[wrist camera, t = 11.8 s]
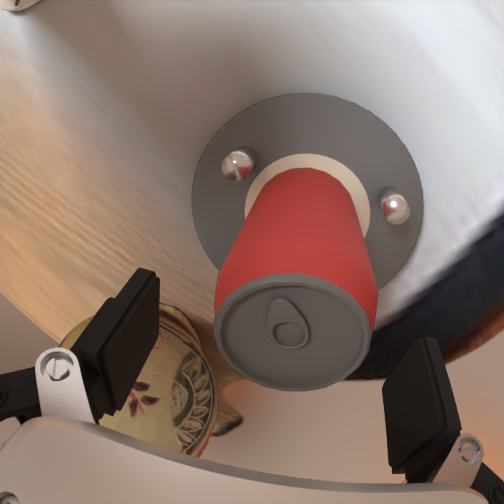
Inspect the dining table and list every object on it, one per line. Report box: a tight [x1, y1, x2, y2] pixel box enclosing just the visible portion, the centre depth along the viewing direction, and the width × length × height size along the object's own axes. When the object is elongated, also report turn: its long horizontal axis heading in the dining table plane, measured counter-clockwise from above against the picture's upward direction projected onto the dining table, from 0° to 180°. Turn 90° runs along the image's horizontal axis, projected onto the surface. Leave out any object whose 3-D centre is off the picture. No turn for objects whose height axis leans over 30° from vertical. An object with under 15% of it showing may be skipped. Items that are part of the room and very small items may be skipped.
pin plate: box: [192, 93, 423, 290], centre depth 22 cm, size 16×16×2 cm
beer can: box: [213, 167, 378, 391], centre depth 16 cm, size 7×7×12 cm
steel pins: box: [222, 146, 410, 225], centre depth 21 cm, size 10×11×2 cm
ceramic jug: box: [58, 269, 219, 458], centre depth 19 cm, size 17×15×30 cm
